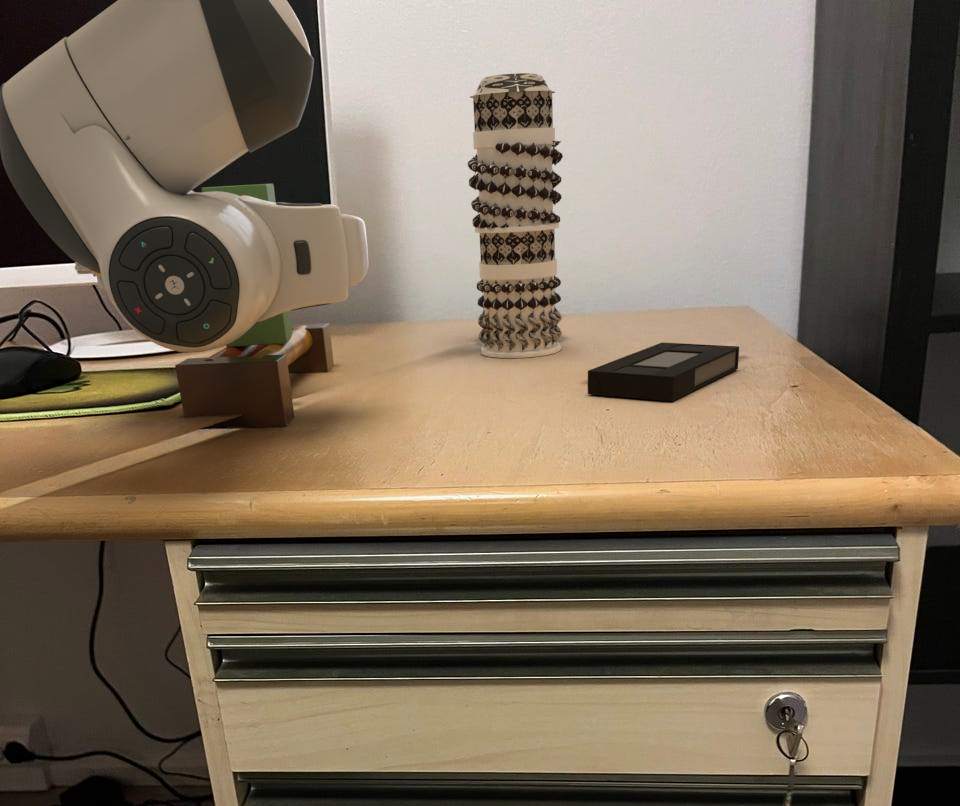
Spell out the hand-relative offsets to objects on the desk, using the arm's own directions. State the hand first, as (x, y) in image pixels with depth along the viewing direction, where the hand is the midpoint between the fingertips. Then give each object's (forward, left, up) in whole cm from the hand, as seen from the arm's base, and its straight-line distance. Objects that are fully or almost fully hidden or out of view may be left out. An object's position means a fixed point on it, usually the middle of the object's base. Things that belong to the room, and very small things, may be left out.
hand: (245, 247), depth 81 cm
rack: (0, 0, -13) cm, 13 cm away
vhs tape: (+30, +17, -13) cm, 37 cm away
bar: (0, 0, -7) cm, 7 cm away
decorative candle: (+10, +28, -13) cm, 32 cm away
